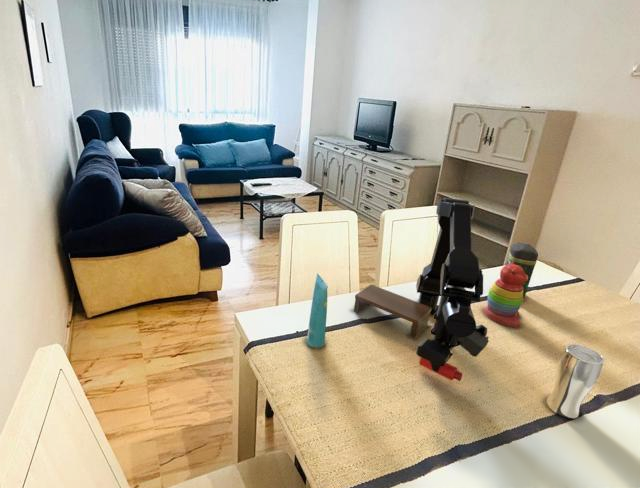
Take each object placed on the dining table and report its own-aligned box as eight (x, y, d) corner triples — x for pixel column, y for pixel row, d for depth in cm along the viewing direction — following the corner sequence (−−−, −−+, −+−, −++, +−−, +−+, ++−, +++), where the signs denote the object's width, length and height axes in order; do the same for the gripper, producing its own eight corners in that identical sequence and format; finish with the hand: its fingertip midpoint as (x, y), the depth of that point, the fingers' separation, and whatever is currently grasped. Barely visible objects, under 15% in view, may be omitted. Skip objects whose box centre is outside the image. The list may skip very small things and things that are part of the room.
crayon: (418, 366, 94) (421, 354, 94) (422, 363, 97) (425, 351, 96) (457, 385, 89) (461, 372, 88) (460, 381, 91) (464, 369, 91)
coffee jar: (526, 303, 130) (542, 253, 124) (500, 297, 133) (514, 248, 126) (521, 290, 139) (536, 243, 132) (497, 286, 142) (510, 239, 135)
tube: (329, 349, 102) (337, 284, 95) (313, 352, 100) (319, 287, 93) (317, 333, 108) (323, 272, 101) (301, 336, 107) (307, 274, 100)
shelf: (368, 300, 127) (371, 284, 125) (428, 324, 115) (431, 307, 113) (352, 311, 120) (355, 294, 118) (414, 339, 108) (418, 321, 106)
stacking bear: (519, 329, 115) (537, 276, 109) (482, 319, 120) (497, 267, 113) (518, 313, 124) (534, 263, 118) (483, 304, 128) (497, 255, 122)
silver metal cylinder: (574, 401, 88) (597, 347, 83) (586, 424, 82) (611, 367, 77) (540, 393, 90) (560, 340, 85) (549, 414, 84) (571, 359, 79)
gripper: (476, 345, 76) (459, 406, 82) (500, 310, 89) (483, 364, 95) (422, 322, 83) (409, 380, 88) (451, 293, 96) (438, 344, 102)
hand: (437, 367), depth 93 cm, fingers closed on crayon, 3 cm apart
